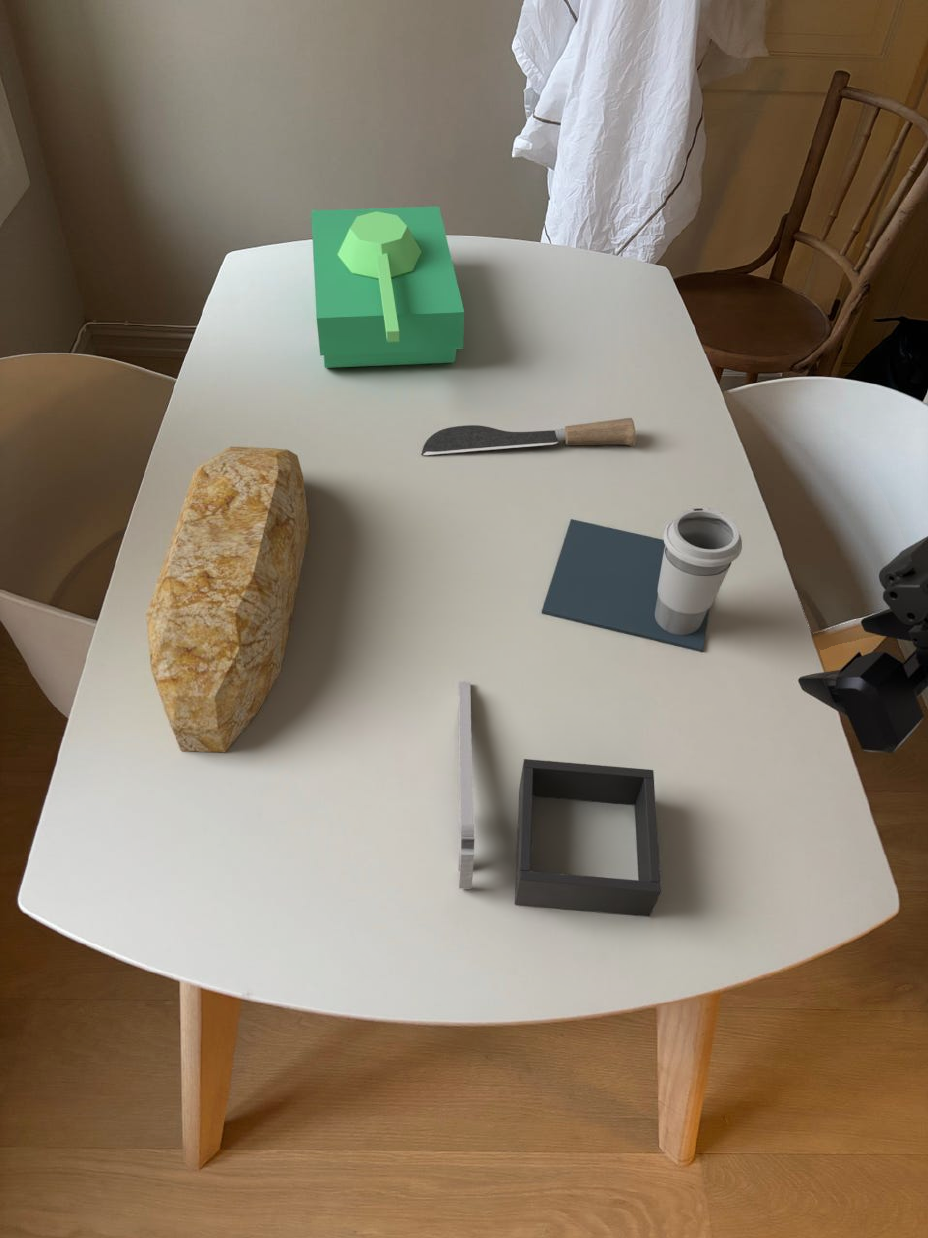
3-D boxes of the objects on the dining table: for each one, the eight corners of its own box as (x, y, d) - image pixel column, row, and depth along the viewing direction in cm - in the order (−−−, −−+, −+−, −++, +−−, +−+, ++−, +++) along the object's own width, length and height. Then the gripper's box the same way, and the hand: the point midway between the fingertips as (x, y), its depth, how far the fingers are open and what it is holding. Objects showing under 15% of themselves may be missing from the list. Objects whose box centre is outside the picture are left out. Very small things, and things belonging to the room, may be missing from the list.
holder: (643, 797, 80) (653, 769, 76) (650, 917, 73) (661, 892, 70) (519, 787, 80) (523, 758, 77) (514, 905, 73) (519, 879, 70)
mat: (717, 554, 100) (718, 551, 99) (702, 652, 91) (703, 649, 90) (570, 521, 102) (571, 518, 102) (541, 613, 93) (541, 610, 93)
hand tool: (417, 419, 110) (626, 402, 112) (419, 440, 113) (624, 423, 114) (421, 447, 107) (637, 429, 108) (422, 468, 109) (634, 451, 110)
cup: (703, 590, 96) (733, 502, 86) (722, 641, 91) (755, 553, 82) (635, 594, 95) (658, 506, 86) (650, 645, 90) (676, 558, 81)
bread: (220, 476, 105) (205, 402, 97) (318, 481, 105) (311, 407, 97) (137, 748, 81) (109, 678, 74) (264, 754, 81) (248, 685, 74)
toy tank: (315, 326, 103) (308, 182, 126) (324, 417, 113) (316, 268, 135) (474, 319, 105) (439, 179, 128) (470, 409, 114) (438, 264, 137)
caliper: (471, 892, 74) (475, 855, 69) (458, 892, 74) (461, 855, 69) (469, 684, 87) (472, 641, 82) (458, 684, 87) (460, 641, 82)
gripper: (1052, 477, 65) (857, 513, 78) (916, 610, 56) (723, 625, 70) (1103, 616, 67) (905, 628, 81) (980, 764, 59) (781, 750, 72)
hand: (833, 653), depth 76 cm, fingers open, 9 cm apart
